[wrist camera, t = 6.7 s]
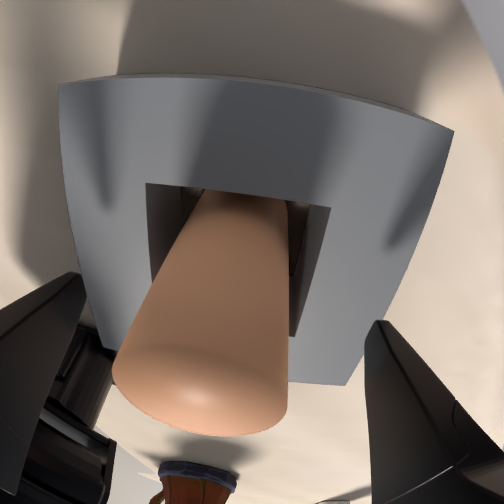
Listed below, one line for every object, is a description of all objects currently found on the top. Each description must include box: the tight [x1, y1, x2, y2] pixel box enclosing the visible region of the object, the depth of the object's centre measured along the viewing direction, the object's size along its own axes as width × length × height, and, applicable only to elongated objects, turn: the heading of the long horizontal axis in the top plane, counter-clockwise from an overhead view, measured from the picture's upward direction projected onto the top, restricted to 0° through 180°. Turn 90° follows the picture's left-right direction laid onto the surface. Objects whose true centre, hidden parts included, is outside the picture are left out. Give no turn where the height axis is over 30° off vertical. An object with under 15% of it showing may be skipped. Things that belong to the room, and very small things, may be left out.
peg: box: [112, 189, 289, 437], centre depth 10 cm, size 4×4×9 cm
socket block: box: [58, 73, 454, 386], centre depth 12 cm, size 12×12×4 cm
